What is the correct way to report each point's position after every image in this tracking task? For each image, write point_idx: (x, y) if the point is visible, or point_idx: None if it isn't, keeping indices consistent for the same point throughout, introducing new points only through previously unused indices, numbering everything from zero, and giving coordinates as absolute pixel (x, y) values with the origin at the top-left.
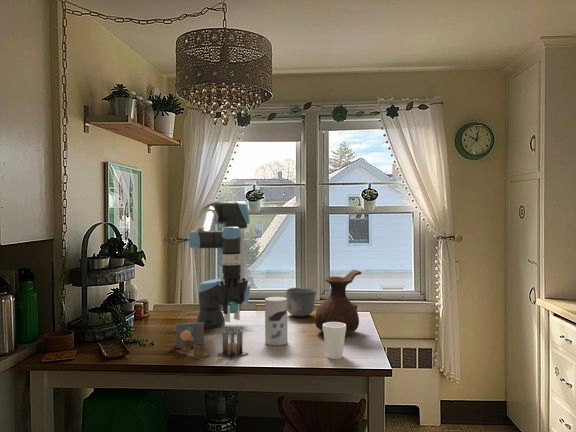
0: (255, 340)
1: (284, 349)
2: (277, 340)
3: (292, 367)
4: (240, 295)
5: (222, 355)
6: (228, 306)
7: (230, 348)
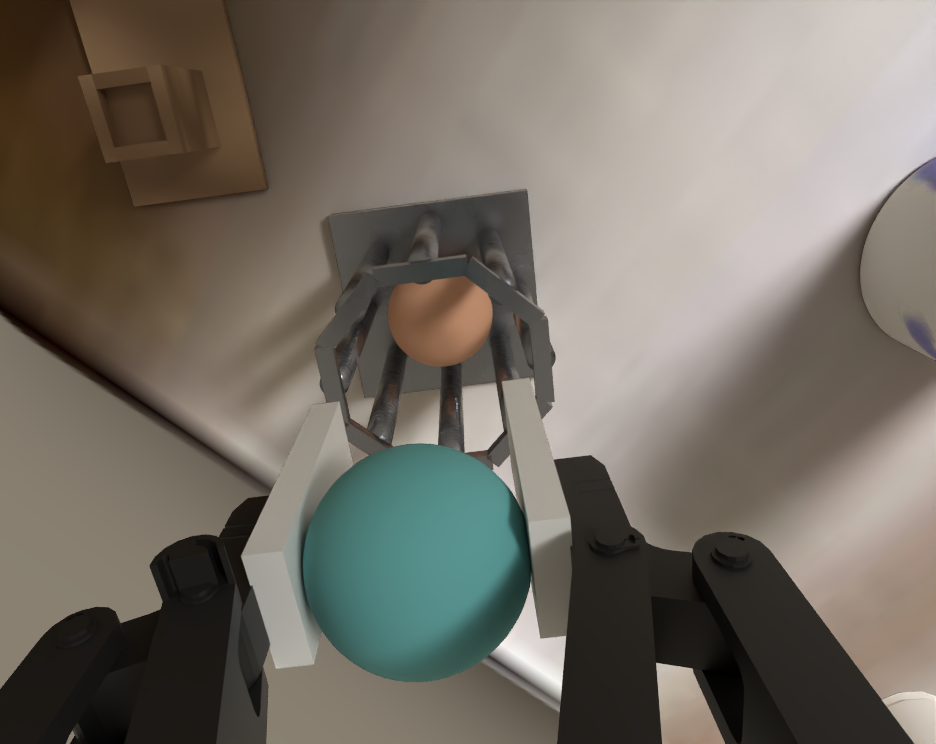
0: (910, 32)
1: (834, 445)
2: (916, 350)
3: None
4: (743, 720)
5: (343, 289)
6: (278, 666)
7: (398, 345)
